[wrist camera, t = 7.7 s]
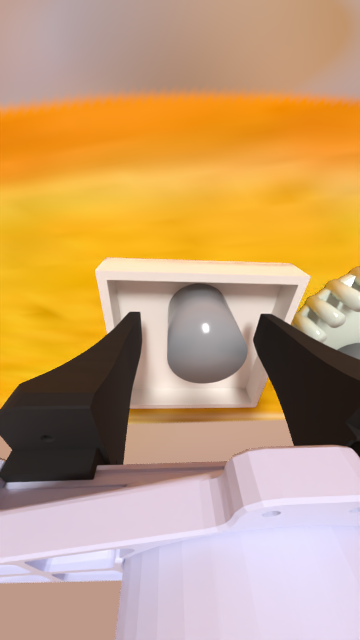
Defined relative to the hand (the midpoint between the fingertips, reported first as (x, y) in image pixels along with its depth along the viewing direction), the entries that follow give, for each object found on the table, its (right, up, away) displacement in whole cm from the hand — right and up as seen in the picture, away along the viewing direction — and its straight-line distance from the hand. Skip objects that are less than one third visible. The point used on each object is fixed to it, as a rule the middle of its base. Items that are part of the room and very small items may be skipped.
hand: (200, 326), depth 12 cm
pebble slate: (0, +1, +2) cm, 2 cm away
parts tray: (0, -1, +4) cm, 4 cm away
